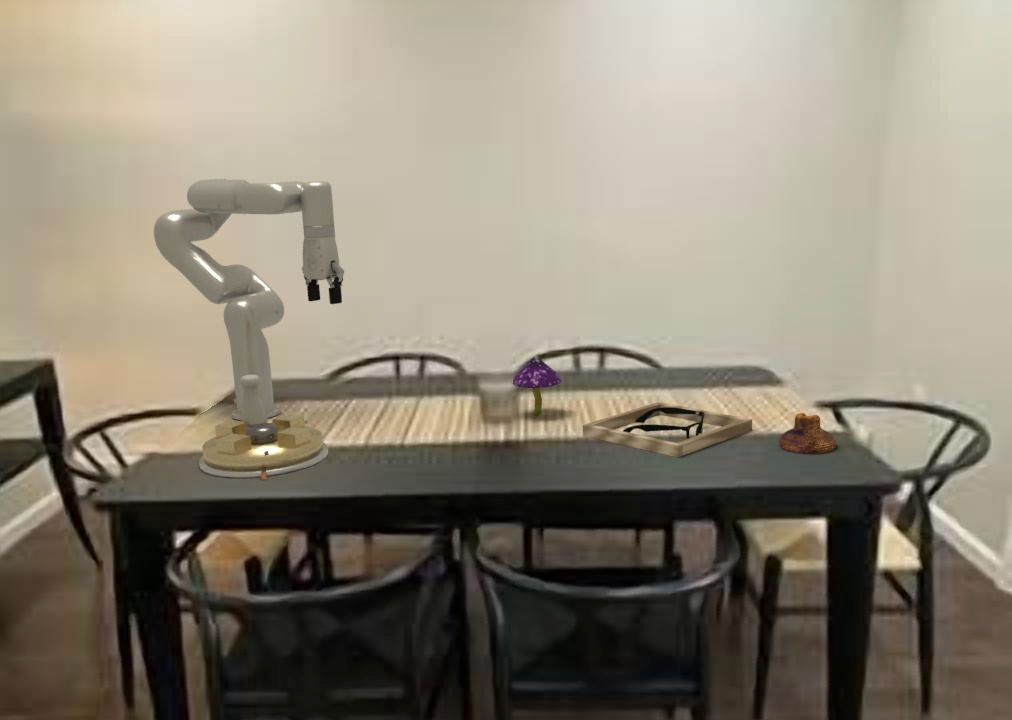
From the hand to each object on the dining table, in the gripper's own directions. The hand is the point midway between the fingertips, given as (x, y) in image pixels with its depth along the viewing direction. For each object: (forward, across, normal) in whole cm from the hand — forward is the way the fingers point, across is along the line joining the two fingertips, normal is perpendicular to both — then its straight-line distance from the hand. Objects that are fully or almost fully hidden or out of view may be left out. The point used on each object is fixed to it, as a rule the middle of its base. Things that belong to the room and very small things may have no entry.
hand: (325, 302), depth 249 cm
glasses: (+31, +72, +42) cm, 89 cm away
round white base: (+30, +16, -29) cm, 45 cm away
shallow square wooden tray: (+30, +73, +42) cm, 90 cm away
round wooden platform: (+29, +16, -29) cm, 44 cm away
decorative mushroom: (+31, +38, +35) cm, 60 cm away
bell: (+31, +103, +52) cm, 119 cm away
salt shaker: (+26, +7, -26) cm, 38 cm away
